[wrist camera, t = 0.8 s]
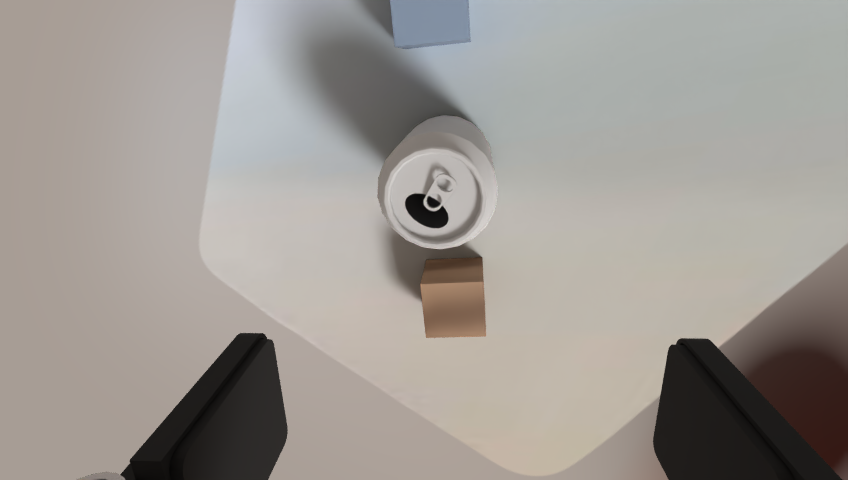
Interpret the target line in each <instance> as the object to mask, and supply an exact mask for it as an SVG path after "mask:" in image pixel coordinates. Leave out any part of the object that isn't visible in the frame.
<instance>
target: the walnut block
mask: <svg viewBox="0 0 848 480" xmlns="http://www.w3.org/2000/svg"><path fill="white" fill-rule="evenodd" d="M420 286H421V295H422V305H423V314H424V324H425V333H426V338H436V337H480V336H486V323H485V300H484V281H483V262H482V257H476V258H454V259H432V260H426V263H425V267H424V271H423V275H422V279H421V283H420Z"/></svg>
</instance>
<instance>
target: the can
mask: <svg viewBox="0 0 848 480" xmlns="http://www.w3.org/2000/svg"><path fill="white" fill-rule="evenodd" d="M497 195H498V187H497V181H496V176H495V170H494V165H493V159H492V154H491V149H490V145H489V143H488V141H487V140H486V138H485V136H484V134H483V133H482V132H481V131H480V130H479V129H478V128H477V127H476V126H475V125H474V124H473V123H471V122H469V121H467V120H465V119H462V118H460V117H457V116H447V115H441V116H437V117H433V118H429V119H427V120H425V121H424V122H422V123H420V124H419V125H417V126H416V127H415V128H414V129H413V130H412V131H411V132H410V133H409V134H408V135H407V136H406V137H405V138H404V139H403V140H402V141H401V143H400V144H399V145H398V146H397V147H396V148H395V149H394V150H393V152H392V153H391V154H390V155H389V156H388V158H387V159H386V160H385V162H384V165H383V167H382V170H381V172H380V175H379V177H378V199H379V203H380V207H381V210H382V214H383V215H384V217H385V218H386V220H387V221H388V223H389V224H390V226H391V227H392V229H393V230H395V231H396V232H397V233H398V234H399V235H401V236H402V237H403V238H404V239H405V240H407V241H409V242H412V243H414V244H416V245H419V246H421V247H425V248H433V249H445V248H451V247H456V246H460V245H462V244H464V243H465V242H467V241H469V240H471V239H473V238H475V237H476V236H477V235H478V234H479V233H480V232H481V231H482V230H483V229H484V228H485V227H486V226H487V225H488V223H489V221H490V219H491V217H492V215H493V213H494V211H495V209H496V202H497Z"/></svg>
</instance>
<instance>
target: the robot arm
mask: <svg viewBox="0 0 848 480" xmlns="http://www.w3.org/2000/svg"><path fill="white" fill-rule="evenodd" d="M286 439H287V423H286V416H285V410H284V404H283V397H282V392H281V385H280V379H279V373H278V367H277V360H276V354H275V348H274V343H273V341H272V340H269V339H267V337H266V336H265V334H263V333H240V334H238V335H237V336H236V337H235V339H234V340H233V341H232V342H231V343H230V344H229V346H228V347H227V348H226V349H225V350H224V351H223V353H222V354H221V355H220V356H219V357H218V358H217V359H216V361H215V362H214V363H213V364H212V365H211V366H210V368H209V369H208V370H207V371H206V372H205V373H204V374H203V376H202V377H201V378H200V379H199V381H197V383H196V384H195V385H194V386H193V387H192V388H191V390H190V391H189V392H188V393H187V394H186V395H185V397H184V398H183V399H182V400H181V401H180V402H179V404H178V405H177V406H176V407H175V408H174V409H173V411H172V412H171V413H170V414H169V415H168V416H167V417H166V419H165V420H164V421H163V422H162V423H161V424H160V426H159V427H158V428H157V429H156V430H155V432H154V433H153V434H152V435H151V436H150V437H149V438H148V440H147V441H146V442H145V443H144V444H143V445H142V446H141V448H140V449H139V450H138V451H137V452H136V454H135V455H134V456H133V457H132V458H131V459H130V464H129V465H128V466H127V468H126V469H125V470H124V471H123V472H122V473H121V475H119V474H117V473H110V472H103V473H96V474H91V475H88V476H85V477H82V478H80V479H77V480H268V478H269V476H270V474H271V472H272V470H273V468H274V466H275V464H276V462H277V460H278V457H279V455H280V453H281V451H282V449H283V447H284V445H285V442H286ZM653 444H654V450H655V453H656V456H657V458H658V460H659V462H660V464H661V466H662V468H663V469H664V471H665V473H666V475H667V477H668V479H669V480H842V479H841V478H840V477H839V476H838V475H837V474H836V473H835V472H834V471H833V470H832V468H831V467H830V466H829V465H828V464H827V463H826V462H825V461H824V460H823V459H822V458H821V457H820V456H819V455H818V454H817V453H816V451H815V450H814V449H813V448H812V447H811V446H810V445H809V444H808V443H807V442H806V441H805V440H804V439H803V438H802V437H801V436H800V435H799V433H798V432H797V431H796V430H795V429H794V428H793V427H792V426H791V425H790V424H789V423H788V422H787V421H786V420H785V419H784V418H783V417H782V416H781V414H780V413H779V412H778V411H777V410H776V409H775V408H774V407H773V406H772V405H771V404H770V403H769V402H768V401H767V400H766V399H765V398H764V397H763V396H762V394H761V393H760V392H759V391H758V390H757V389H756V388H755V387H754V386H753V385H752V384H751V383H750V382H749V381H748V380H747V379H746V378H745V376H744V375H743V374H742V373H741V372H740V371H739V370H738V369H737V368H736V367H735V366H734V365H733V364H732V363H731V362H730V361H729V360H728V359H727V357H726V356H725V355H724V354H723V353H722V352H721V351H720V350H719V349H718V348H717V347H716V346H715V345H714V344H713V343H712V342H711V341H710V340H709V339H685V338H681V339H679V340H678V341H677V343H676V345H671V346H670V347H669V350H668V355H667V361H666V367H665V373H664V378H663V384H662V390H661V396H660V402H659V408H658V415H657V420H656V426H655V432H654V438H653Z"/></svg>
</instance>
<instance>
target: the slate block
mask: <svg viewBox="0 0 848 480" xmlns="http://www.w3.org/2000/svg"><path fill="white" fill-rule="evenodd" d="M390 6H391V15H392V25H393V34H394V43H395V47H398V48H403V49H410V48H419V47H428V46H438V45H447V44H456V43H466V42H471V40H470V22H469V3H468V0H390Z"/></svg>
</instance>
